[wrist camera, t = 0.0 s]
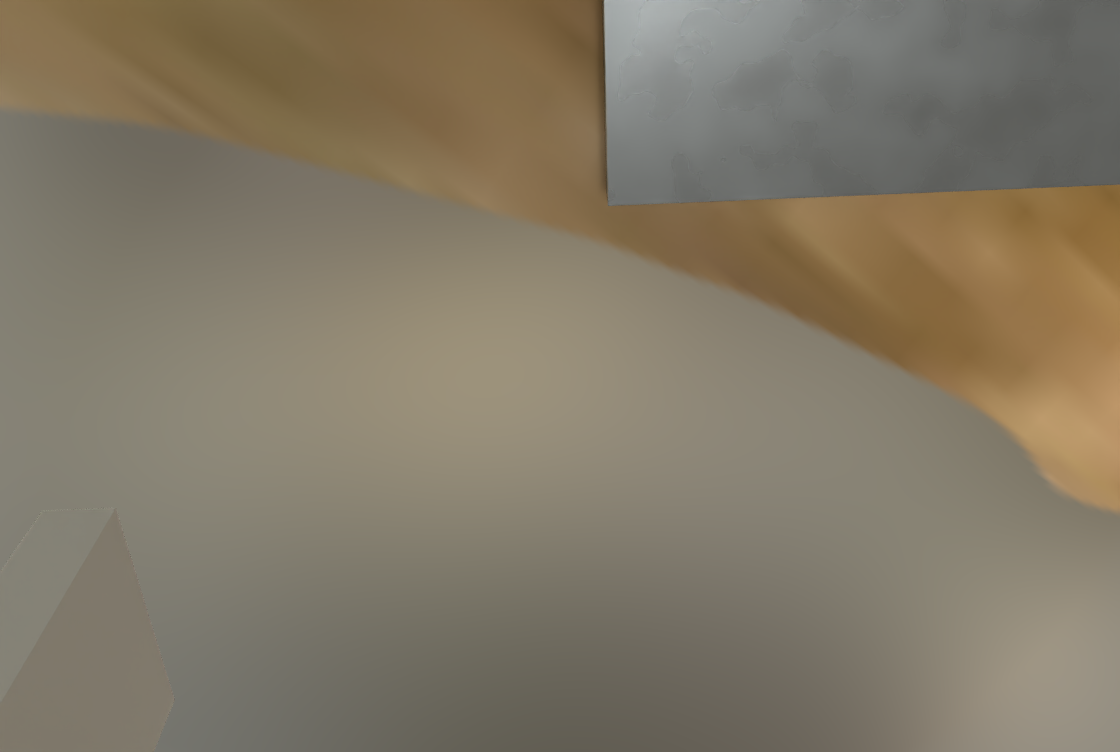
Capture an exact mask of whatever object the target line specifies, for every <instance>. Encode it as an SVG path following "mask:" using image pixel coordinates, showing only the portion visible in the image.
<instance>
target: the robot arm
mask: <svg viewBox="0 0 1120 752" xmlns="http://www.w3.org/2000/svg"><path fill="white" fill-rule="evenodd" d="M174 700H175V699H174V696H173V693H172V689H171V686H170V683H169V680H168V677H167V673H166V670H165V667H164V663H163V660H162V657H161V654H160V650H159V647H158V644H157V640H156V637H155V634H154V631H153V628H152V624H151V621H150V618H149V615H148V611H147V608H146V605H145V602H144V598H143V595H142V592H141V588H140V585H139V582H138V579H137V575H136V572H135V569H134V565H133V562H132V559H131V556H130V553H129V550H128V546H127V543H126V539H125V536H124V533H123V530H122V526H121V523H120V520H119V517H118V514H117V510H116V508H98V509H71V510H47V511H46V510H45V511H41V513H40V514H39V516H38V517H37V519H36V520H35V522H34V523H33V525H32V526H31V528H30V529H29V530H28V532H27V533H26V535H25V536H24V538H23V539H22V541H21V542H20V544H19V545H18V547H17V548H16V549H15V551H14V552H13V554H12V555H11V557H10V558H9V560H8V561H7V562H6V564H5V566H4V567H3V568H2V570H1V571H0V752H154V750H155V747H156V745H157V742H158V740H159V737H160V735H161V732H162V730H163V727H164V725H165V723H166V720H167V718H168V715H169V713H170V710H171V708H172V705H173V703H174Z"/></svg>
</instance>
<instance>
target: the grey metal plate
mask: <svg viewBox="0 0 1120 752" xmlns="http://www.w3.org/2000/svg"><path fill="white" fill-rule="evenodd" d="M602 12H603V59H604V107H605V155H606V193H607V201H608V206H615V205H639V204H663V203H687V202H711V201H735V200H759V199H782V198H806V197H830V196H854V195H878V194H902V193H926V192H950V191H974V190H998V189H1022V188H1046V187H1069V186H1093V185H1117V184H1120V0H602Z"/></svg>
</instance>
